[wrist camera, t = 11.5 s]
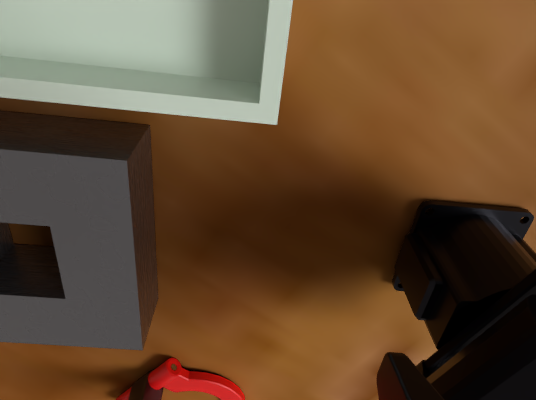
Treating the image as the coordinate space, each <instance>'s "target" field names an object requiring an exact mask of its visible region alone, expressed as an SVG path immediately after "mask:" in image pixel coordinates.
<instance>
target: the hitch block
mask: <svg viewBox="0 0 536 400" xmlns="http://www.w3.org/2000/svg"><path fill="white" fill-rule="evenodd" d="M8 223H15V224H27V225H40V226H50V229H51V233H52V238H53V243H54V247H50V246H37V245H24V244H14V243H13V239H12V236H11V232H10V228H9V225H8ZM157 301H158V284H157V263H156V242H155V221H154V199H153V178H152V157H151V136H150V125H144V124H134V123H123V122H113V121H103V120H93V119H82V118H72V117H62V116H52V115H41V114H31V113H21V112H11V111H0V342H14V343H31V344H47V345H64V346H81V347H98V348H115V349H131V350H143V347H144V344H145V341H146V337H147V334H148V331H149V327H150V324H151V321H152V317H153V314H154V311H155V307H156V304H157Z"/></svg>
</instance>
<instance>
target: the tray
mask: <svg viewBox="0 0 536 400" xmlns="http://www.w3.org/2000/svg"><path fill="white" fill-rule="evenodd" d="M292 3H293V0H0V97H3V98H13V99H23V100H33V101H43V102H53V103H63V104H73V105H83V106H93V107H103V108H113V109H123V110H133V111H143V112H153V113H163V114H173V115H183V116H193V117H203V118H213V119H223V120H233V121H243V122H253V123H263V124H273V125H277V120H278V113H279V105H280V97H281V89H282V81H283V74H284V66H285V58H286V50H287V42H288V35H289V27H290V19H291V11H292Z"/></svg>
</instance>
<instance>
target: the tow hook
mask: <svg viewBox="0 0 536 400" xmlns="http://www.w3.org/2000/svg"><path fill="white" fill-rule="evenodd" d="M163 387H164V388H166V389H168V390H171V391H173V392H181V391H201V392H205V393H209V394H212V395H214V396H216V397H218V398H220V399H221V400H245V396H244V394H243V392H242V391H241V389H240V388H239V387H238V386H237V385H235V384H234V383H233V382H232V381H230V380H228V379H225V378H223V377H221V376H218V375H214V374H210V373H206V372H195V371H188V370H186V369H184V368H182V367H181V364H180V362H179V361H178V360H177V359H176V358H169V359H168V360H167V361H165V362H164V363H163V364H161V365H160V366H159V367H157V368H156V369H155V370H152V371H150V372H148V373H147V374H146V375H144V376H143V377H142V378H140V379H139V380H138V381H136V382H135V383H134V384H133V385H132V387H131V388H129V389H128V390H127V391H125V392H124V393H123V394H121V395H120V396H119V397H117V398H116V400H161V398H162V393H163Z"/></svg>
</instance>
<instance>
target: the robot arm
mask: <svg viewBox="0 0 536 400" xmlns="http://www.w3.org/2000/svg"><path fill="white" fill-rule="evenodd" d="M429 208H432V209H431V210H430V211H428V212H425V211H426V210H427V209H429ZM522 217H524V218H523V219H521V218H522ZM520 219H521V220H520ZM533 219H534V216H533V215H532V214H531V213H530V212H529V211H528V210H527V209H521V208H510V207H498V206H487V205H476V204H465V203H453V202H442V201H431V200H429V201H425V202H423V203H422V204H420V206H419V208H418V211H417V213H416V216H415V219H414V222H413V224H412V227H411V230H410V232H409V233H408V234H407V235H406V236H405V239H404V242H403V244H402V247H401V250H400V253H399V255H398V258H397V261H396V264H395V270H396V271H395V274H394V276H393V279H392V284H393V286H394V289H396V290H398V291H404V292H405V294H406V296H407V299H408V301H409V304H410V306H411V308H412V311H413V313H414V315H415V317H416V318H417V319H418V320H424V321H425V324H426V326H427V328H428V330H429V333H430V335H431V337H432V339H433V342H434V344H435V346H436V348H437V349H438V351H436V352H435V353H434V354H433V355H432V356H430V357H429V358H428V359H427V360H422V361H421V362H420V363H419V364H418V365H417V366H415V365H414V364H413V363H412V361H411V360H410V359H409V358H408V357H407V356H406V355H405V354H403V353H394V352H388V353H386V354H385V356H384V358H383V361H382V363H381V366H380V368H379V371H378V373H377V389H378V396H379V400H536V253H535V252H534V251H533V250H532V249H531V248H530V247H529V246H528V244H527V243H526V242H525V241H524V240H523V238H524V236H525V234H526V232H527V231H528V229H529V227H530V225H531V223H532V222H533ZM400 282H401V283H400ZM399 283H400V284H399Z"/></svg>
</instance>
